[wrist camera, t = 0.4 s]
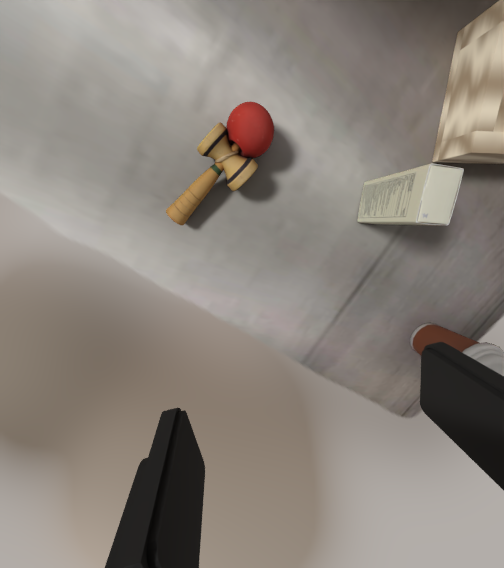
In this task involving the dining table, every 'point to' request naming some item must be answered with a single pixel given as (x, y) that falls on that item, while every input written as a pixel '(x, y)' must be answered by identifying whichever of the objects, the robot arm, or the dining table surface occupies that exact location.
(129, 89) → the dining table surface
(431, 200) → the skincare box
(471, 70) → the holder
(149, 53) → the dining table surface
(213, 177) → the kendama
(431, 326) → the coffee cup
